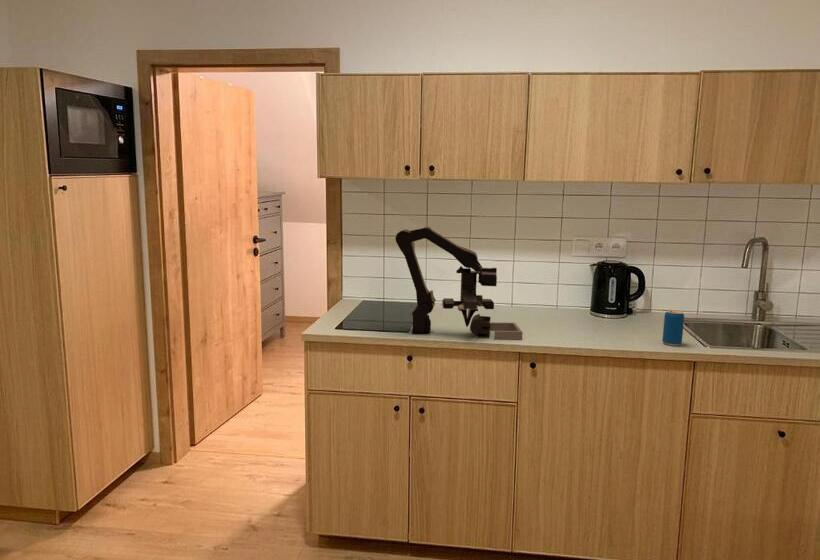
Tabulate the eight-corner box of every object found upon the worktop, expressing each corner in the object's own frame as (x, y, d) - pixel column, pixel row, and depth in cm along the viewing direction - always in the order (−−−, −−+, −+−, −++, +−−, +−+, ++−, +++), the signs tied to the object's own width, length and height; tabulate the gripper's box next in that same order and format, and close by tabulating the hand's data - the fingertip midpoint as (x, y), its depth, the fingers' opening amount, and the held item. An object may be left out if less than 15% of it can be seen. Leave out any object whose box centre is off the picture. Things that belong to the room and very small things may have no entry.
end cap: (471, 330, 243) (471, 313, 242) (489, 331, 242) (490, 314, 241) (469, 337, 233) (470, 319, 232) (489, 338, 232) (489, 320, 231)
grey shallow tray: (494, 339, 231) (495, 331, 230) (488, 329, 245) (489, 322, 244) (522, 339, 231) (522, 331, 231) (514, 330, 245) (514, 322, 245)
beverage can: (670, 340, 234) (673, 308, 231) (685, 345, 228) (688, 312, 226) (658, 342, 231) (661, 310, 228) (673, 347, 225) (676, 314, 223)
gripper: (445, 288, 226) (443, 331, 229) (497, 289, 227) (495, 332, 229) (442, 283, 237) (441, 324, 240) (492, 284, 238) (490, 324, 240)
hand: (467, 326), depth 237 cm, fingers closed
